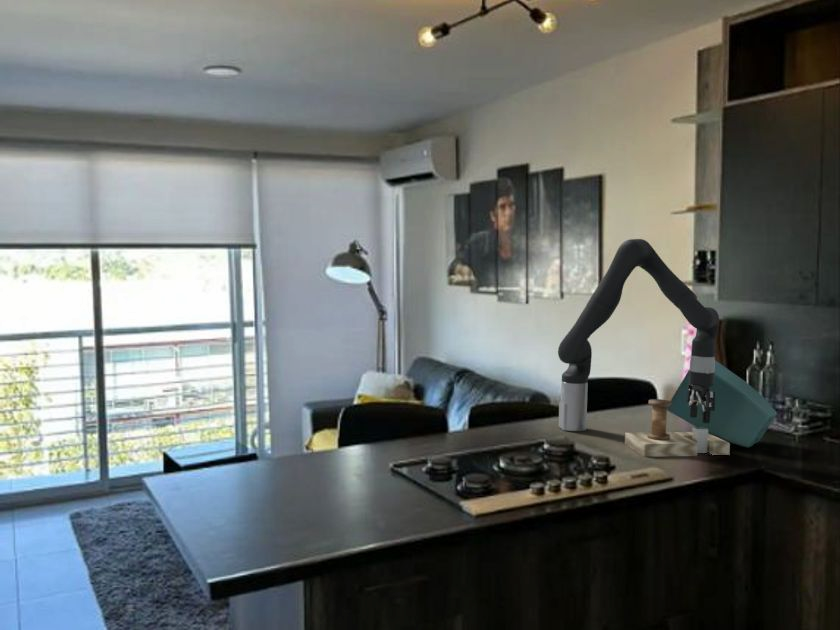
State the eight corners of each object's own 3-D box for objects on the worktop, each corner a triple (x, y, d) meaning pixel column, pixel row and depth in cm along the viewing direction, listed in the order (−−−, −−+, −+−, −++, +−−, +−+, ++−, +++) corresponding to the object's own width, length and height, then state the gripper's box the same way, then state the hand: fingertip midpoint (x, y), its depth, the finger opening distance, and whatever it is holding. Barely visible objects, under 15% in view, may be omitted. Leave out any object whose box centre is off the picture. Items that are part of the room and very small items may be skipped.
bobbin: (652, 440, 239) (654, 403, 239) (643, 435, 246) (645, 399, 246) (673, 440, 240) (675, 403, 239) (664, 435, 247) (665, 399, 246)
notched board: (644, 456, 235) (644, 443, 234) (624, 444, 251) (625, 432, 250) (729, 455, 238) (729, 443, 238) (704, 443, 254) (705, 431, 253)
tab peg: (707, 453, 240) (708, 429, 239) (696, 453, 239) (697, 429, 239) (701, 451, 243) (702, 426, 243) (691, 451, 243) (692, 426, 242)
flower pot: (772, 407, 237) (693, 360, 252) (738, 459, 243) (664, 409, 258) (787, 402, 252) (713, 358, 268) (755, 451, 258) (684, 404, 274)
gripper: (680, 366, 246) (678, 415, 248) (701, 373, 232) (698, 425, 233) (702, 366, 247) (699, 415, 248) (724, 373, 233) (721, 425, 234)
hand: (699, 420), depth 241 cm, fingers open, 8 cm apart
